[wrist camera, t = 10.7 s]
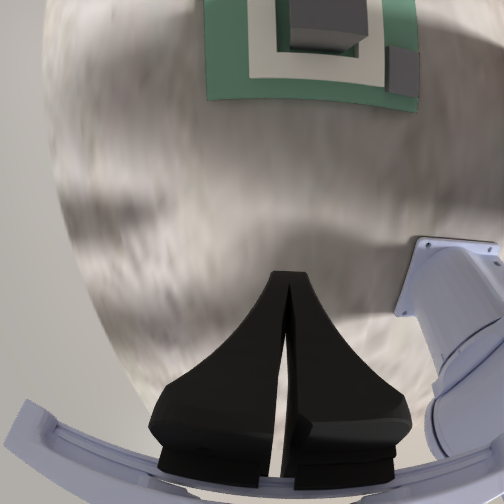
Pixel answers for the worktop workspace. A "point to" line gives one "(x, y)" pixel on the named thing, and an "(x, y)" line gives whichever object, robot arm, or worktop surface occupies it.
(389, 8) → the board
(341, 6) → the plug
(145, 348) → the worktop surface
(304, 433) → the robot arm
